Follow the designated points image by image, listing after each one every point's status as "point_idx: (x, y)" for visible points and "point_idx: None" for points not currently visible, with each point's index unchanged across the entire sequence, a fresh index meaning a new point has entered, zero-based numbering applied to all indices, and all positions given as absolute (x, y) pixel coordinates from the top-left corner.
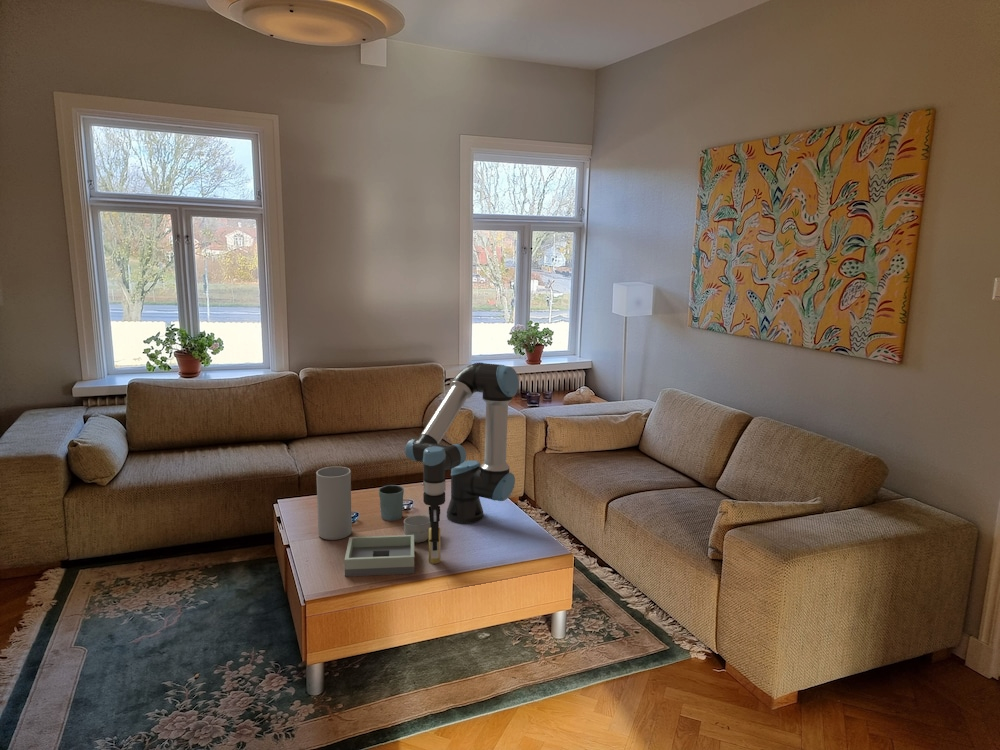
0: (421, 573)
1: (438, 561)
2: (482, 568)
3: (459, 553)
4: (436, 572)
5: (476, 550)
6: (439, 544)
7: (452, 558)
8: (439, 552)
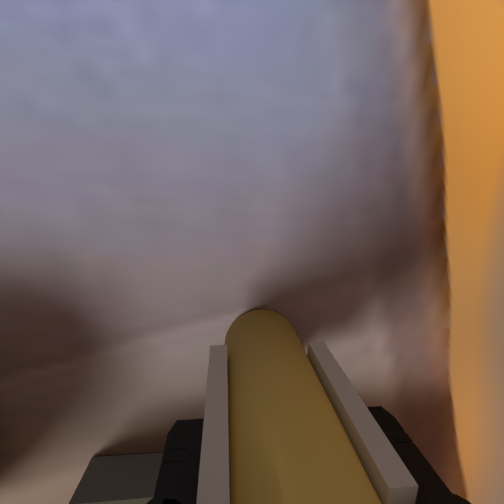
0: (390, 403)
1: (291, 325)
2: (412, 16)
3: (146, 169)
4: (397, 330)
5: (89, 10)
6: (325, 409)
7: (226, 228)
8: (298, 353)
